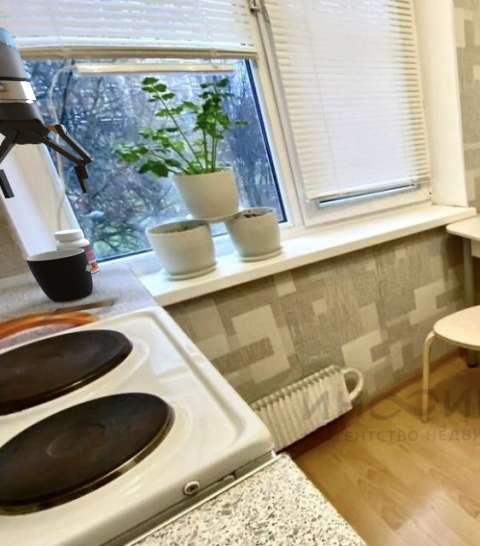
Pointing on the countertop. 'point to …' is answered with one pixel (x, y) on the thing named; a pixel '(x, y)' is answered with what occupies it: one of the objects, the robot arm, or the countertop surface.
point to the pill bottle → (76, 245)
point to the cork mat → (83, 307)
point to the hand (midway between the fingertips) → (49, 195)
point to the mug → (62, 274)
